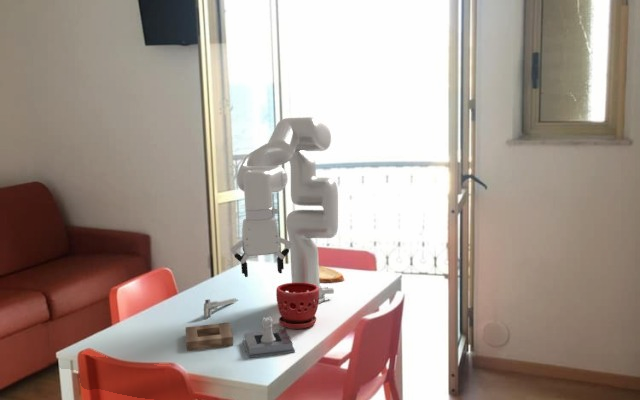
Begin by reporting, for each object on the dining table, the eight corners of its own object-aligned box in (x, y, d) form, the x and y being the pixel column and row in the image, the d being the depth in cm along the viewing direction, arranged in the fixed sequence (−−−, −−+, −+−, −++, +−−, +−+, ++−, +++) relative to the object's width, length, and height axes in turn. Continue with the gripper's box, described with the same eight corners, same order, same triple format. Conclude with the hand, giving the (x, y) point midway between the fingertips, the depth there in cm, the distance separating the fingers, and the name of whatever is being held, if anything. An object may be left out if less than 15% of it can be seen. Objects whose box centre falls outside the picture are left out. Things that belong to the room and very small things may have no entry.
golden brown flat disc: (345, 283, 255) (344, 273, 254) (297, 285, 255) (296, 275, 254) (343, 270, 273) (342, 261, 272) (298, 272, 273) (297, 263, 272)
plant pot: (305, 334, 202) (303, 295, 200) (269, 327, 209) (267, 289, 207) (328, 320, 213) (326, 283, 211) (293, 315, 220) (291, 279, 218)
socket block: (229, 330, 208) (228, 322, 207) (233, 345, 195) (232, 336, 195) (186, 335, 205) (185, 327, 205) (187, 350, 193) (186, 342, 192)
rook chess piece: (260, 342, 195) (259, 315, 194) (276, 341, 195) (274, 314, 194) (260, 348, 191) (259, 320, 189) (276, 347, 191) (275, 319, 190)
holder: (286, 336, 201) (286, 328, 200) (294, 352, 188) (294, 343, 188) (242, 341, 198) (242, 333, 198) (248, 358, 185) (247, 349, 185)
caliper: (207, 319, 219) (205, 301, 218) (204, 319, 220) (202, 300, 219) (238, 301, 238) (237, 283, 237) (235, 300, 238) (234, 283, 237)
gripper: (287, 209, 194) (290, 267, 197) (226, 214, 190) (230, 273, 193) (292, 214, 187) (295, 274, 190) (229, 219, 183) (233, 280, 186)
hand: (263, 273), depth 192 cm, fingers open, 9 cm apart
